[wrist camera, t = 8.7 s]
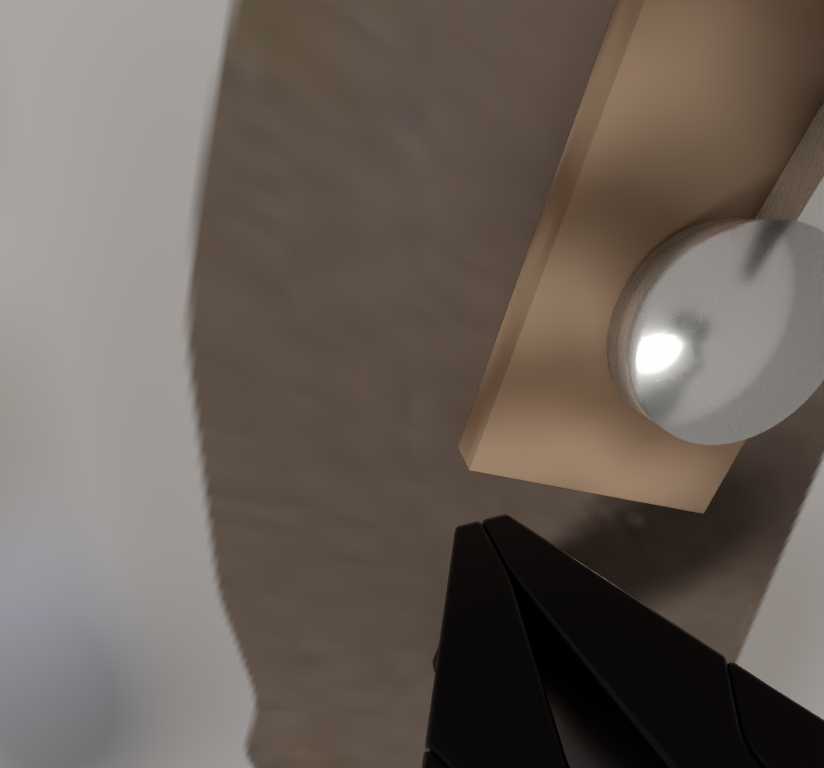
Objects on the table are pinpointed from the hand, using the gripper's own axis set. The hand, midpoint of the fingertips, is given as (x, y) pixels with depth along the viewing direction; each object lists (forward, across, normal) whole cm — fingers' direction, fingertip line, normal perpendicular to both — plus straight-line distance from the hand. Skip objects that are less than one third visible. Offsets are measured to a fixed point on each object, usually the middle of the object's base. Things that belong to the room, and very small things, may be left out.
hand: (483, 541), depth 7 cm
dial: (+10, -13, -1) cm, 16 cm away
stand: (+12, -12, -1) cm, 17 cm away
